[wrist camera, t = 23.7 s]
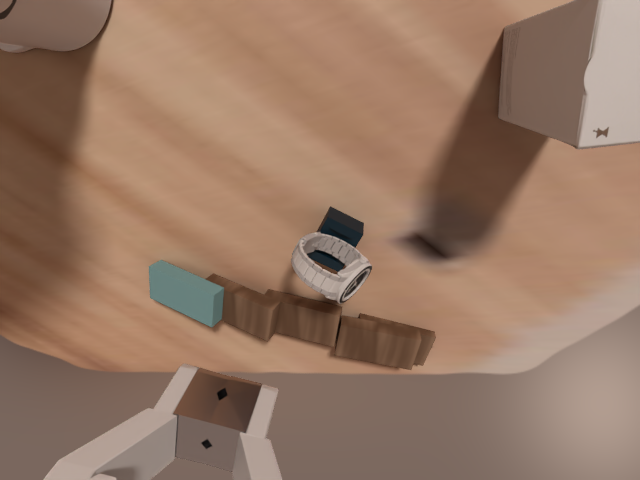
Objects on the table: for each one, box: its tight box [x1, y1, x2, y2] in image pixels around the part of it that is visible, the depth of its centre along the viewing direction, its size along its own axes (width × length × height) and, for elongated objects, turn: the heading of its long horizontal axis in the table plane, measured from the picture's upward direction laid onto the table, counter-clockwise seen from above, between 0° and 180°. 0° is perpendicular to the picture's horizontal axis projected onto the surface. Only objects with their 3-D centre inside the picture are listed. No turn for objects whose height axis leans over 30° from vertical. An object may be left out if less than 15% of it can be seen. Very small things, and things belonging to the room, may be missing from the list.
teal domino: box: [149, 260, 224, 327], centre depth 46 cm, size 2×5×10 cm
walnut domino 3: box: [335, 315, 421, 370], centre depth 46 cm, size 2×5×10 cm
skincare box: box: [498, 0, 640, 149], centre depth 26 cm, size 8×7×16 cm
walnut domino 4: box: [359, 313, 436, 366], centre depth 48 cm, size 2×5×10 cm
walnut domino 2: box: [265, 289, 342, 347], centre depth 47 cm, size 2×5×10 cm
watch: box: [291, 207, 372, 304], centre depth 38 cm, size 6×8×11 cm
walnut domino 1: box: [205, 274, 280, 341], centre depth 46 cm, size 2×5×10 cm
